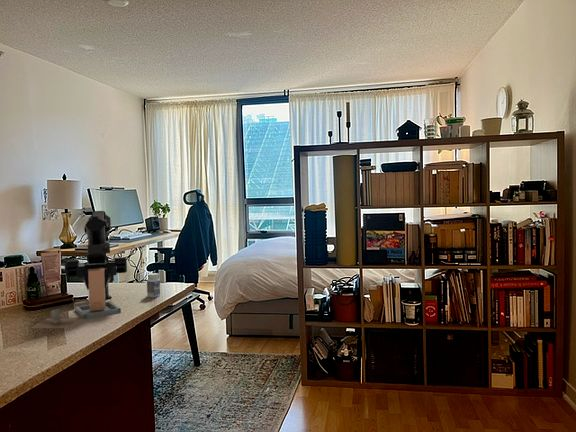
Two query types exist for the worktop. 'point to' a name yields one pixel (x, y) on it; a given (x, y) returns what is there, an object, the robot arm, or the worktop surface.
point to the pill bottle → (153, 285)
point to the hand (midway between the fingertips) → (96, 288)
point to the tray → (86, 312)
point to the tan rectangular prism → (96, 289)
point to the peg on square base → (55, 321)
